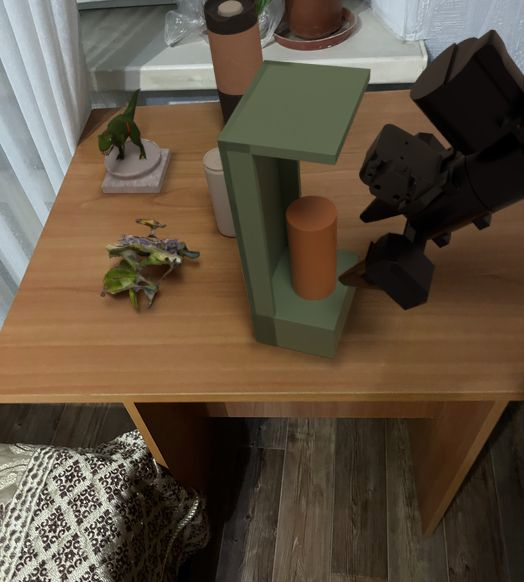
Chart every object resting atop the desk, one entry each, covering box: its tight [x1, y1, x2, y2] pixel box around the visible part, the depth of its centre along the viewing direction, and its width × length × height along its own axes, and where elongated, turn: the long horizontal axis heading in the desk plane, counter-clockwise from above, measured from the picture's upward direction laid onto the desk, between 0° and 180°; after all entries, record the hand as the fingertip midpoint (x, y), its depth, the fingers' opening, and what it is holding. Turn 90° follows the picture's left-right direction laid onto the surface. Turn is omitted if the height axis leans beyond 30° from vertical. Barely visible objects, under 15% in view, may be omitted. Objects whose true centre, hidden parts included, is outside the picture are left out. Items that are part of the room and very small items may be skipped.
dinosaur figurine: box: [96, 88, 172, 194], centre depth 86 cm, size 9×20×12 cm, turn 174°
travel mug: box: [203, 0, 264, 126], centre depth 85 cm, size 8×8×20 cm
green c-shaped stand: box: [216, 59, 371, 360], centre depth 59 cm, size 10×12×29 cm
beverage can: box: [202, 146, 236, 238], centre depth 76 cm, size 5×5×12 cm
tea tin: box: [286, 195, 338, 300], centre depth 61 cm, size 5×5×11 cm
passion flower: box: [99, 218, 201, 310], centre depth 73 cm, size 11×11×12 cm
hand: (351, 249), depth 59 cm, fingers open, 9 cm apart
